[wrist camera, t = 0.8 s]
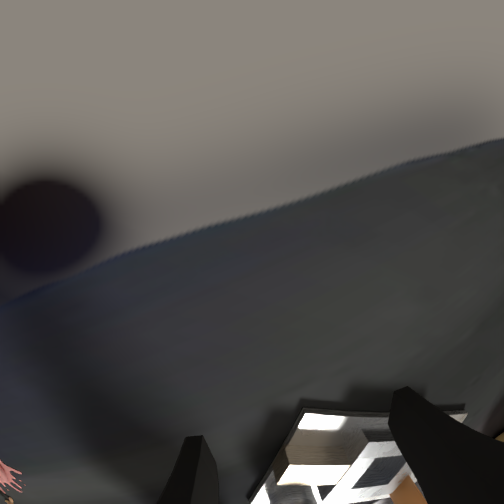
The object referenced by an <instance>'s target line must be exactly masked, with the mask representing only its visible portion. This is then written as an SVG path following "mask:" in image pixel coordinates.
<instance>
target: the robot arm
mask: <svg viewBox="0 0 504 504" xmlns="http://www.w3.org/2000/svg"><path fill="white" fill-rule="evenodd" d="M388 426H389V428H390V431H391V433H392V436H393V438H394V440H395V443H396V445H397V447H398V448H399V450H400V452H401V454H402V455H403V457H404V459H405V460H406V462H407V464H408V466H409V467H410V469H411V471H412V472H413V474H414V476H415V478H416V479H417V481H418V483H419V485H420V487H421V489H422V491H423V493H424V496H425V498H426V501H427V503H428V504H504V442H502V441H499V440H496V439H493V438H491V437H488V436H486V435H484V434H482V433H479V432H477V431H475V430H473V429H471V428H469V427H468V426H466V425H464V424H462V423H461V422H459V421H457V420H456V419H454V418H452V417H451V416H449V415H448V414H446V413H445V412H443V411H442V410H440V409H439V408H437V407H436V406H434V405H433V404H432V403H430V402H429V401H427V400H426V399H425V398H423V397H422V396H420V395H419V394H418V393H416V392H415V391H414V390H412V389H411V388H409V387H408V386H407V387H404V388H402V389H399V390H396V391H394V394H393V399H392V404H391V410H390V414H389V419H388ZM157 504H219V483H218V474H217V465H216V462H215V460H214V458H213V456H212V454H211V452H210V450H209V447H208V445H207V443H206V441H205V439H204V437H203V435H201V436H190V437H186V438H185V439H184V442H183V445H182V448H181V451H180V454H179V457H178V459H177V462H176V464H175V467H174V469H173V471H172V474H171V476H170V478H169V480H168V482H167V485H166V487H165V489H164V491H163V493H162V494H161V496H160V498H159V500H158V502H157Z"/></svg>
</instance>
